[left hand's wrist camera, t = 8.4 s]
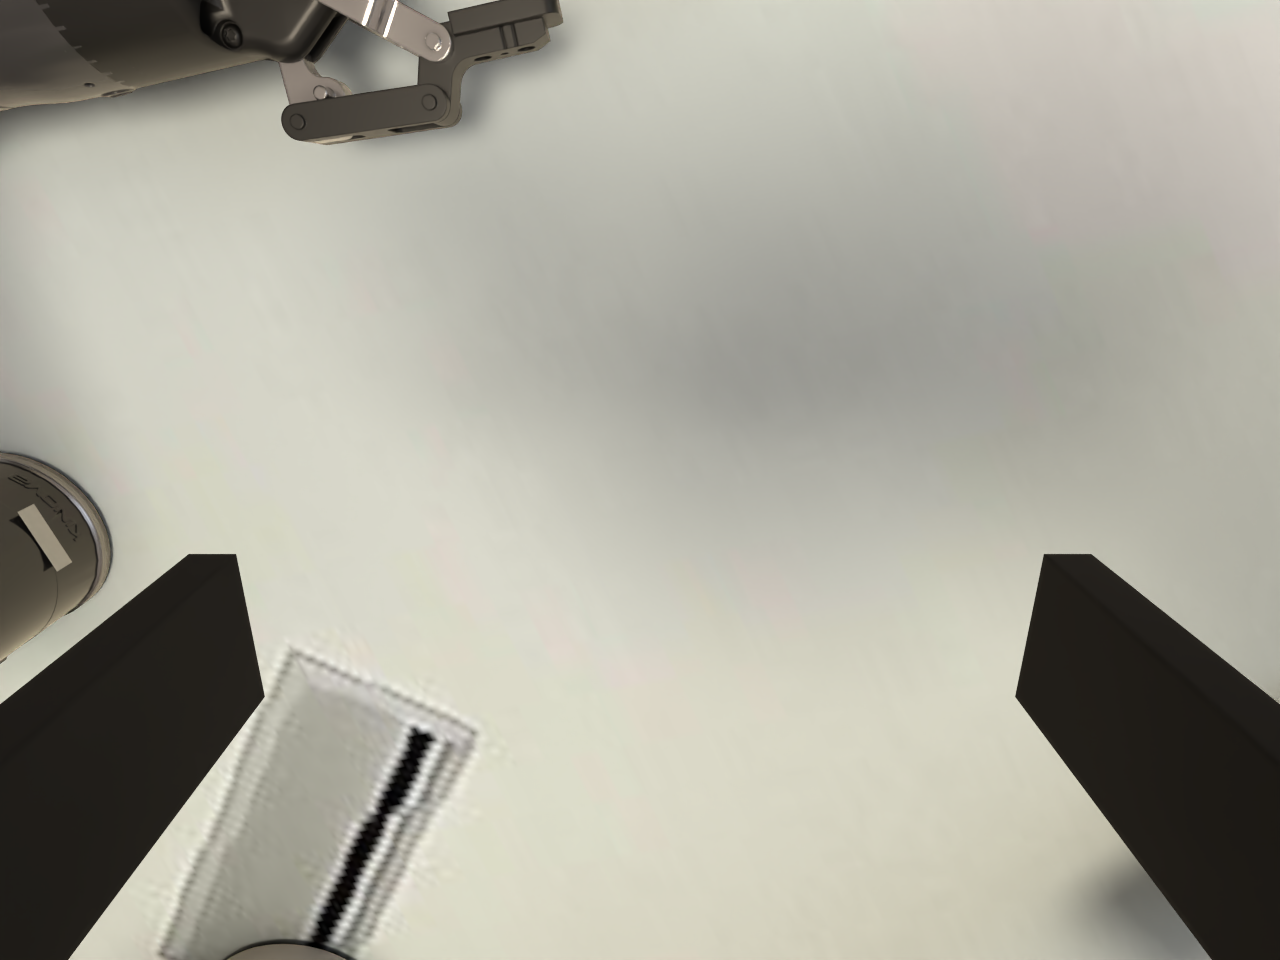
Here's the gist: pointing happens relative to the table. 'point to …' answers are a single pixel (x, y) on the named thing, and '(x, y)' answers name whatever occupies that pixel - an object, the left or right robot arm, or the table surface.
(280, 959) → the bust sculpture
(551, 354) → the table surface
